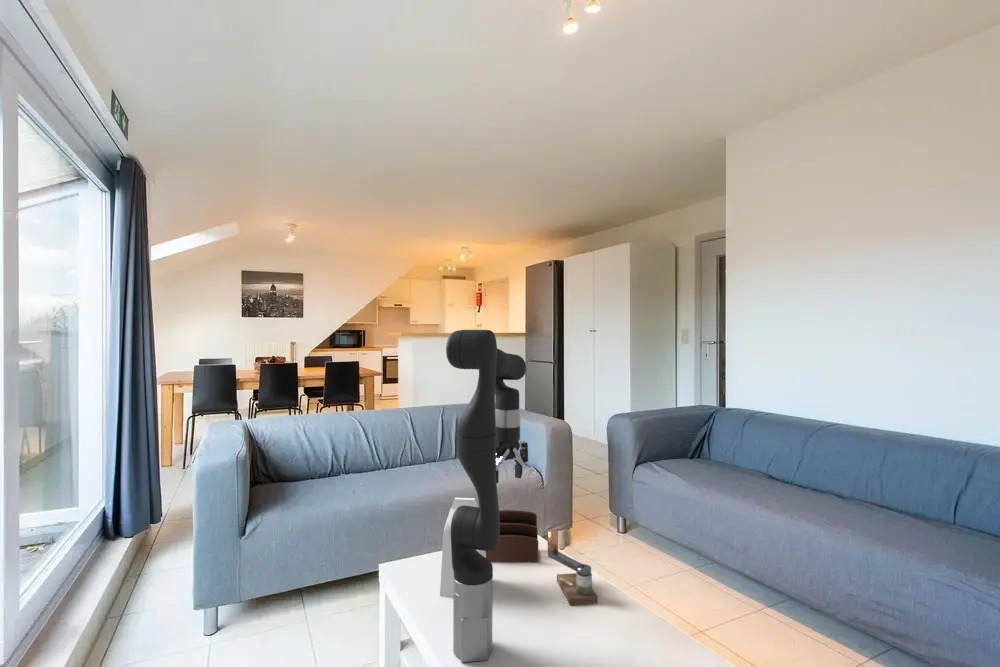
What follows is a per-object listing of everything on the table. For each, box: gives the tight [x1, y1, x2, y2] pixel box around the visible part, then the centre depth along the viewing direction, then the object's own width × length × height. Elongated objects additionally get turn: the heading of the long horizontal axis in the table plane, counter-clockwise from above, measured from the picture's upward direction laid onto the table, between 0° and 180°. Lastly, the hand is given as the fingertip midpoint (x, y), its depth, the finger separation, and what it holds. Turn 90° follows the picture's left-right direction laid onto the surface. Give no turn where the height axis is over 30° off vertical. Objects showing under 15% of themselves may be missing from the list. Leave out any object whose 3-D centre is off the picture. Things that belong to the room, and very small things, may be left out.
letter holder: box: [486, 509, 539, 563], centre depth 170 cm, size 10×20×14 cm, turn 89°
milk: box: [439, 497, 486, 598], centre depth 148 cm, size 12×12×26 cm
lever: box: [547, 529, 592, 576], centre depth 147 cm, size 17×4×8 cm, turn 36°
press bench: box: [556, 571, 599, 606], centre depth 146 cm, size 14×8×7 cm, turn 8°
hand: (506, 480), depth 146 cm, fingers open, 8 cm apart
